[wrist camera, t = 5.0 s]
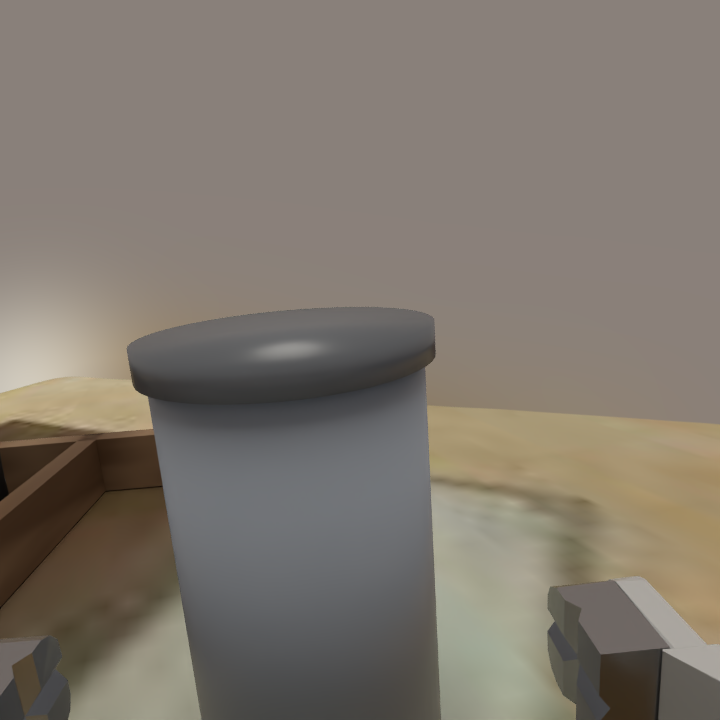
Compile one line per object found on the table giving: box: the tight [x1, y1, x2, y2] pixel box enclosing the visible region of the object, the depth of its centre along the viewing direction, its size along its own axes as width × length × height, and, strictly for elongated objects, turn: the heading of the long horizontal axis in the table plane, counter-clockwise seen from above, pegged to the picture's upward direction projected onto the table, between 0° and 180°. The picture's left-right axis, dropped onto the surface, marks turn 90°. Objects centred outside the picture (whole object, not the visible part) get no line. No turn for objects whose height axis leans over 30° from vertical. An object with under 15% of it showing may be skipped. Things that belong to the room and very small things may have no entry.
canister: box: [127, 307, 441, 720], centre depth 11 cm, size 5×5×11 cm
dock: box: [0, 429, 163, 607], centre depth 23 cm, size 23×13×3 cm, turn 93°
